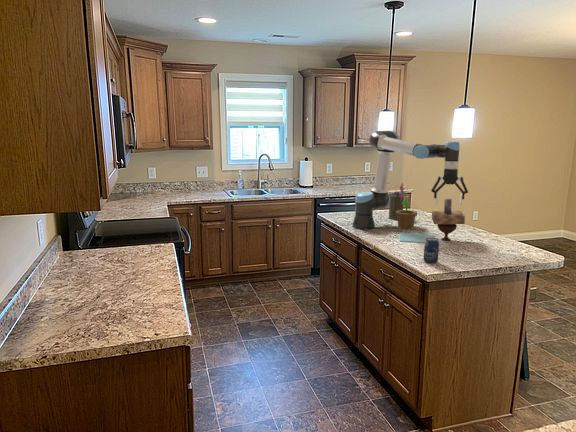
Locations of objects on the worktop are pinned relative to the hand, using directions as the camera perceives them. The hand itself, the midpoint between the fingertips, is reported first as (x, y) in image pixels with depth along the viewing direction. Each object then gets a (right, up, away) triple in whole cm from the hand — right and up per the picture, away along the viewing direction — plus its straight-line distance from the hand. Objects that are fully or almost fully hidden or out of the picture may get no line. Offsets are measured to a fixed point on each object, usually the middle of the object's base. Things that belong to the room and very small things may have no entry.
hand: (448, 204), depth 256 cm
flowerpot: (-15, -14, +39) cm, 44 cm away
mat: (-16, -20, +8) cm, 28 cm away
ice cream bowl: (0, -21, +4) cm, 22 cm away
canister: (-15, -9, +66) cm, 68 cm away
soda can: (-23, -30, -38) cm, 54 cm away
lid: (0, -10, +2) cm, 10 cm away
